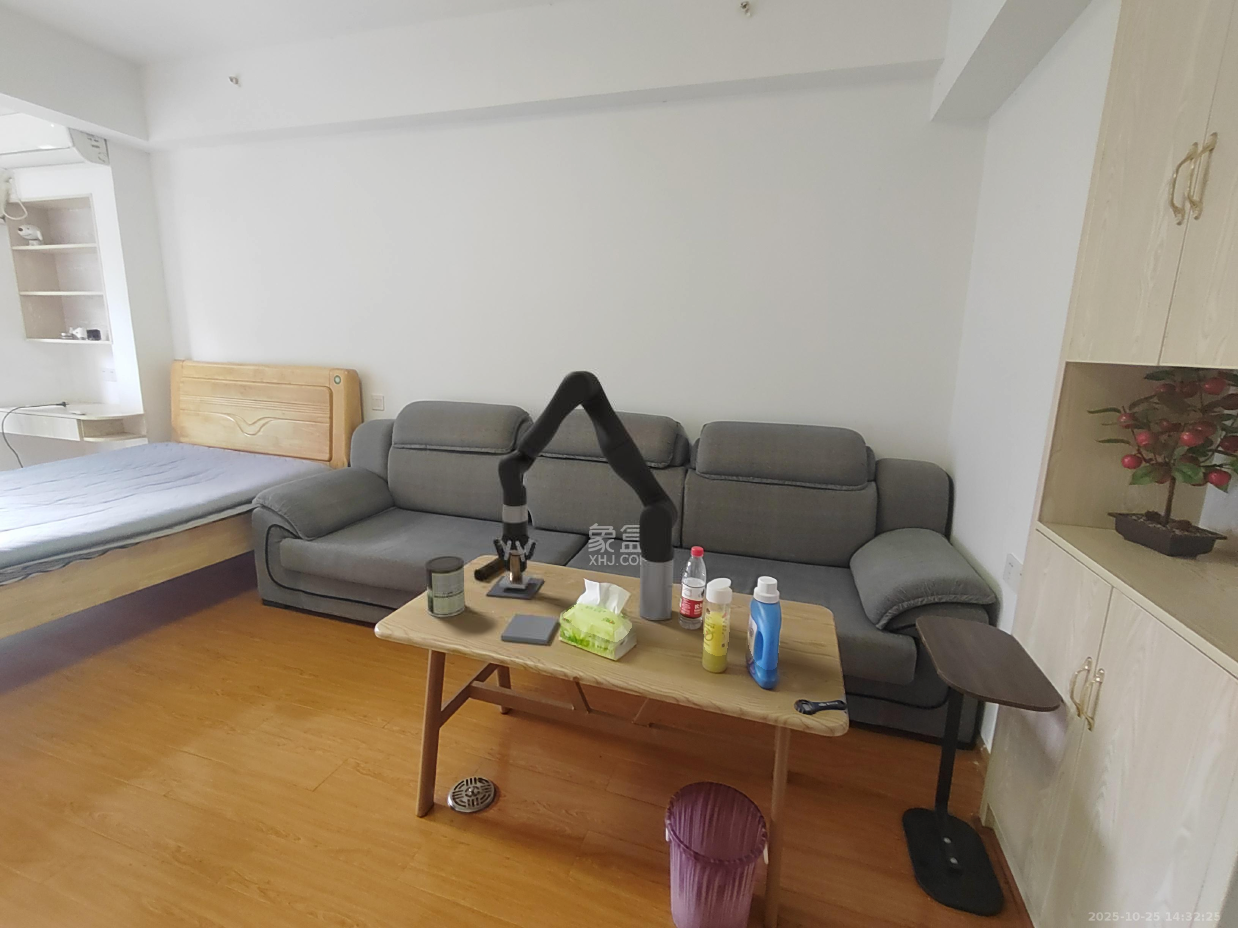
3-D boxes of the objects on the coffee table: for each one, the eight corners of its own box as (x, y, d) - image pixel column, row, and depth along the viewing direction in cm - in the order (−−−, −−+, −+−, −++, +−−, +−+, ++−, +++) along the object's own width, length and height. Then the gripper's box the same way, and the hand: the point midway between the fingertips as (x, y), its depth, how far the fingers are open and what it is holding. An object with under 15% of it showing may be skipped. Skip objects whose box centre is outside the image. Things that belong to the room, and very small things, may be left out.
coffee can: (419, 612, 156) (417, 565, 153) (445, 598, 165) (443, 553, 162) (447, 620, 152) (445, 572, 149) (473, 605, 161) (471, 559, 158)
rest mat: (543, 580, 179) (543, 578, 179) (531, 599, 165) (531, 597, 165) (501, 577, 181) (501, 575, 181) (486, 595, 167) (486, 594, 167)
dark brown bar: (483, 582, 177) (483, 568, 176) (473, 580, 179) (473, 566, 178) (517, 562, 194) (517, 550, 193) (508, 560, 196) (507, 548, 195)
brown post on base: (532, 578, 176) (532, 550, 174) (524, 588, 168) (524, 560, 166) (507, 576, 177) (507, 548, 175) (499, 586, 169) (498, 558, 167)
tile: (558, 617, 152) (546, 639, 141) (558, 623, 153) (546, 646, 141) (515, 613, 154) (501, 635, 142) (516, 619, 154) (501, 641, 143)
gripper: (541, 515, 171) (541, 567, 175) (496, 512, 173) (498, 564, 176) (534, 523, 164) (534, 577, 167) (488, 520, 166) (489, 574, 169)
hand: (515, 570), depth 172 cm, fingers closed on brown post on base, 4 cm apart
